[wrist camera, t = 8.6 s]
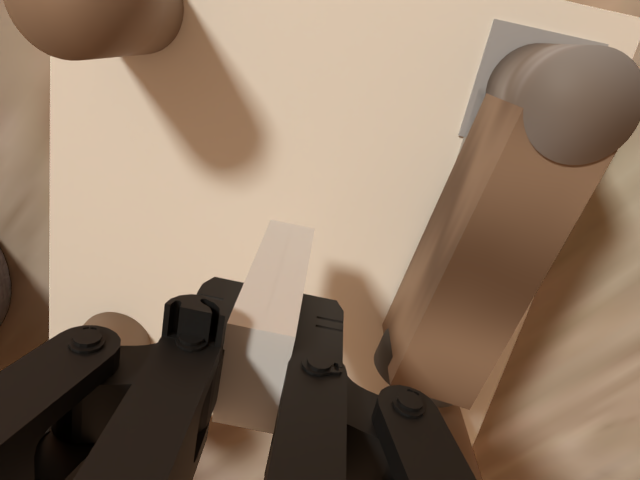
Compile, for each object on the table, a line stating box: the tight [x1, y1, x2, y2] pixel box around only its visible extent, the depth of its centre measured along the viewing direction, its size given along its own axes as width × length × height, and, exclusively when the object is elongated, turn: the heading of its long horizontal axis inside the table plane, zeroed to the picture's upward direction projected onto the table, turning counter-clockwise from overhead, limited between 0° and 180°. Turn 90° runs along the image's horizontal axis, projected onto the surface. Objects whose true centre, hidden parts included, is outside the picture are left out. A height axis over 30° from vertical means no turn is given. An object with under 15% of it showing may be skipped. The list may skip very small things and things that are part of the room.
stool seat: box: [4, 0, 640, 480], centre depth 19 cm, size 20×20×8 cm
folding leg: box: [374, 43, 640, 410], centre depth 18 cm, size 13×4×4 cm, turn 161°
